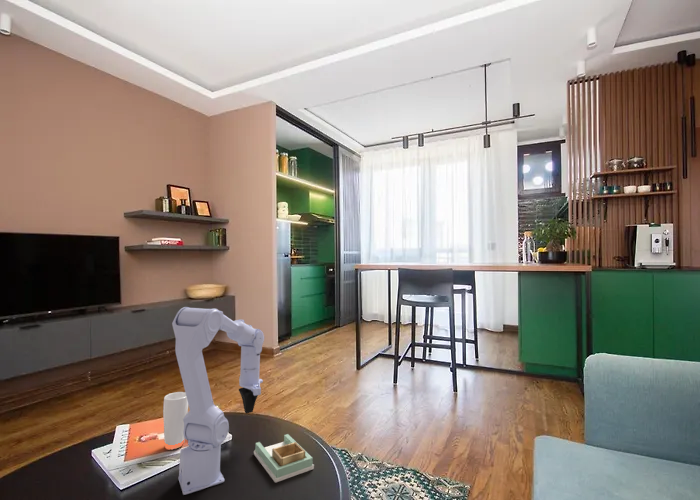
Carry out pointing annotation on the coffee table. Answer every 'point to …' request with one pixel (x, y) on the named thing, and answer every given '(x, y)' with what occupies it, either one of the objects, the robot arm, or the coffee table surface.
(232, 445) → the coffee table surface
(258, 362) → the robot arm
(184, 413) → the drinking glass
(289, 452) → the crate
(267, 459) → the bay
